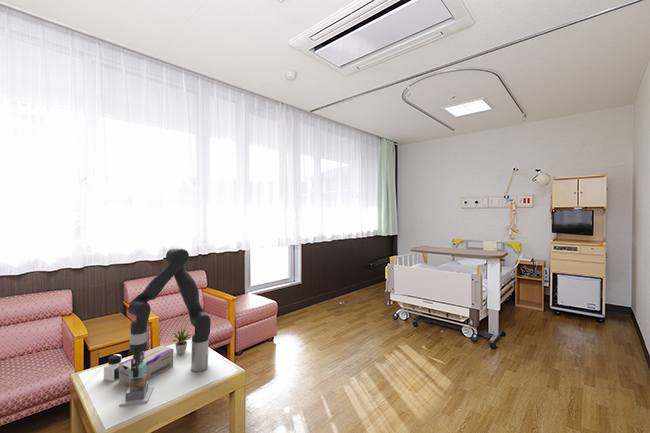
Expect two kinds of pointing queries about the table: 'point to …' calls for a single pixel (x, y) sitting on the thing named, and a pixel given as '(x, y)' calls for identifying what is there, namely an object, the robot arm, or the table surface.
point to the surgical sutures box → (149, 363)
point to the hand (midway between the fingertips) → (137, 373)
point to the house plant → (181, 341)
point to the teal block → (141, 370)
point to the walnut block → (138, 383)
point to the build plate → (137, 396)
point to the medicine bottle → (112, 368)
